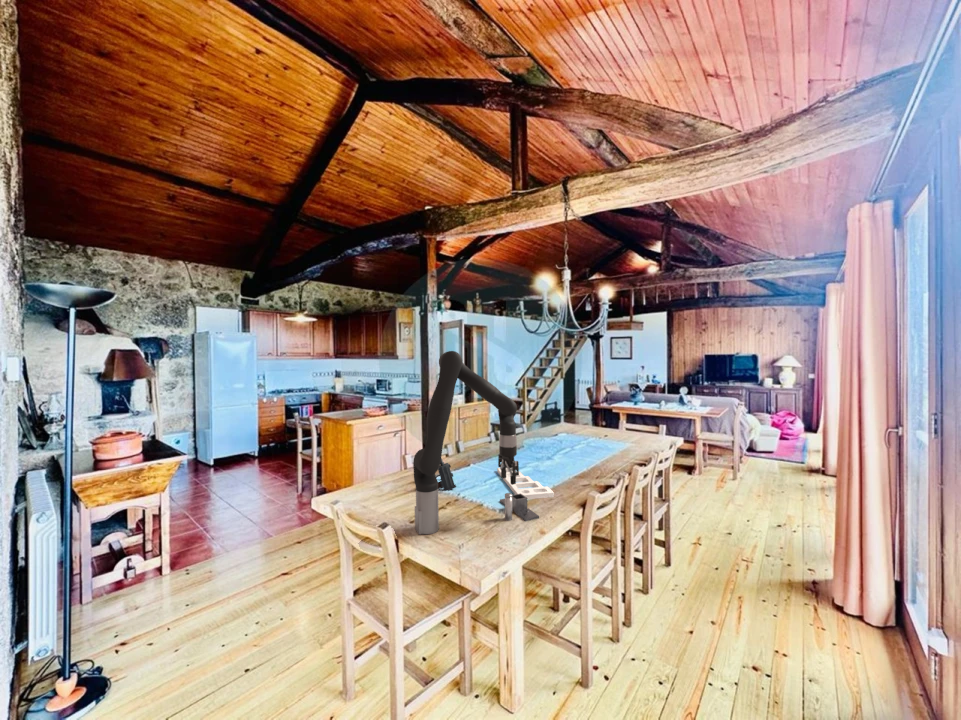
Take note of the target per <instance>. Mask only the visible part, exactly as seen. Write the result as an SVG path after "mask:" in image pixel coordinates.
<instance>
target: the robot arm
mask: <svg viewBox="0 0 961 720" xmlns="http://www.w3.org/2000/svg"><path fill="white" fill-rule="evenodd" d="M438 366H439V368H440V369H439V375H438V380H437V384H436V386H435V389H434V391H433V393H432V396H431V398H430V401H429V406H428V410H427V414H426V441H425V444H424V445H425V446H424V448H421V449H419V450H418V451H417V452H415V455H414V457H413V461H412V462H413V463H412V464H413V465H412V466H413V480H414V484H415V506H414V529H415V531H416V532H417V534H418V535H431V534H435V533H436V532H438V531H439V529H440V526H439V525H440V522H439V518H440V517H439V489H438V482H439V480H437V479H438V478H436V476H437V475H436V473H437V472H438V469H439V467H440V463H441V458H442V454H443V446H444V440H445V437H446V433H447V428H448V423H449V420H450V417H451V411H452V407H453V402H454V401H453V400H454V395H455V388H456V385H457V384H456V383H457V381H458V380H459V381H461V382H462V383H464V384H465V385H466V386H468V387H469V388H470V389H471V390H472V391H473V392H475V393H476V394H477V395H478V396H479V397H481V398H483V399H484V400H485V401H486V402H487V403H489V404H491V405H492V406H494V407H495V408H496V409H497V412H498V413H497V414H498V421H499V440H498V444H499V445H498V447H499V448H498V449H499V451H498V453H499V454H498V455H497V456H498V462H497V463H498V464H497V466H498V467H497V468H500V469H501V476H500V478H501V479H503V478H506V468H507V469H508V471H509V472H510V475H511V476H510V479H511V484H512V485H513V484H516V483H517V482H516V475H519V471H520V469H519V468H520V467H519V465H520V464H519V460H515V457H516V456H517V454H518V452H517V451H518V450H517V443H518V442H517V426H516V422H515V418H514V417H515V416H514V415H515V414H516V413H517V411H518V406H517V405H518V404H517V403H516V402H515V401H514V399H512V398H510V397H508V396H507V395H506V394H504V393H502V391H500V390H499V388H497V387H496V386H495V385H493V384H492V383H491V382H489V381H488V380H487V379H485V378H484V377H482V376H481V375H479V374H477V373H476V372H475V371H473V370H472V369H470V368H469V367H468V366H467V365H466V364H465V363H464V362H463V358H462V356H461V354H460V353H458V352H457V351H454V350H447V351H445V352H444V353H442V354H441V355H440V356H439V358H438Z"/></svg>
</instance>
